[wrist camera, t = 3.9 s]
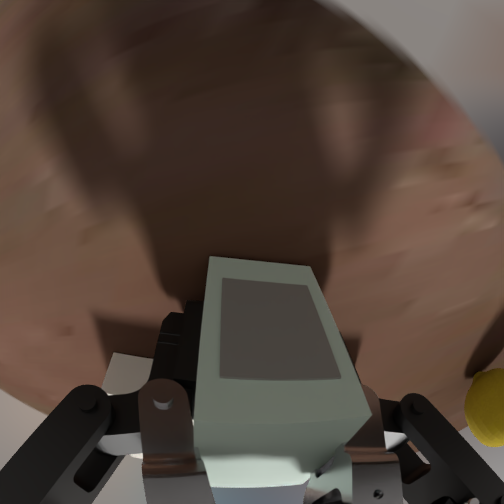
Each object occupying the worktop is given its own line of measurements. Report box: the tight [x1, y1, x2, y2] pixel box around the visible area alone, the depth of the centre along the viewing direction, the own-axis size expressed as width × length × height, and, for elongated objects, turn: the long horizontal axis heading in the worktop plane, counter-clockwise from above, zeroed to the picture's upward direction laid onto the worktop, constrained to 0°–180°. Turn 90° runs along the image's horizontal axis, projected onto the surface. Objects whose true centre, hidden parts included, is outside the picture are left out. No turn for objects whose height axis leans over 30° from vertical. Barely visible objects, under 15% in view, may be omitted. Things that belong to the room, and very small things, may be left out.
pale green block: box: [194, 256, 372, 488], centre depth 8 cm, size 4×5×6 cm
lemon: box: [464, 368, 504, 447], centre depth 13 cm, size 6×6×8 cm
